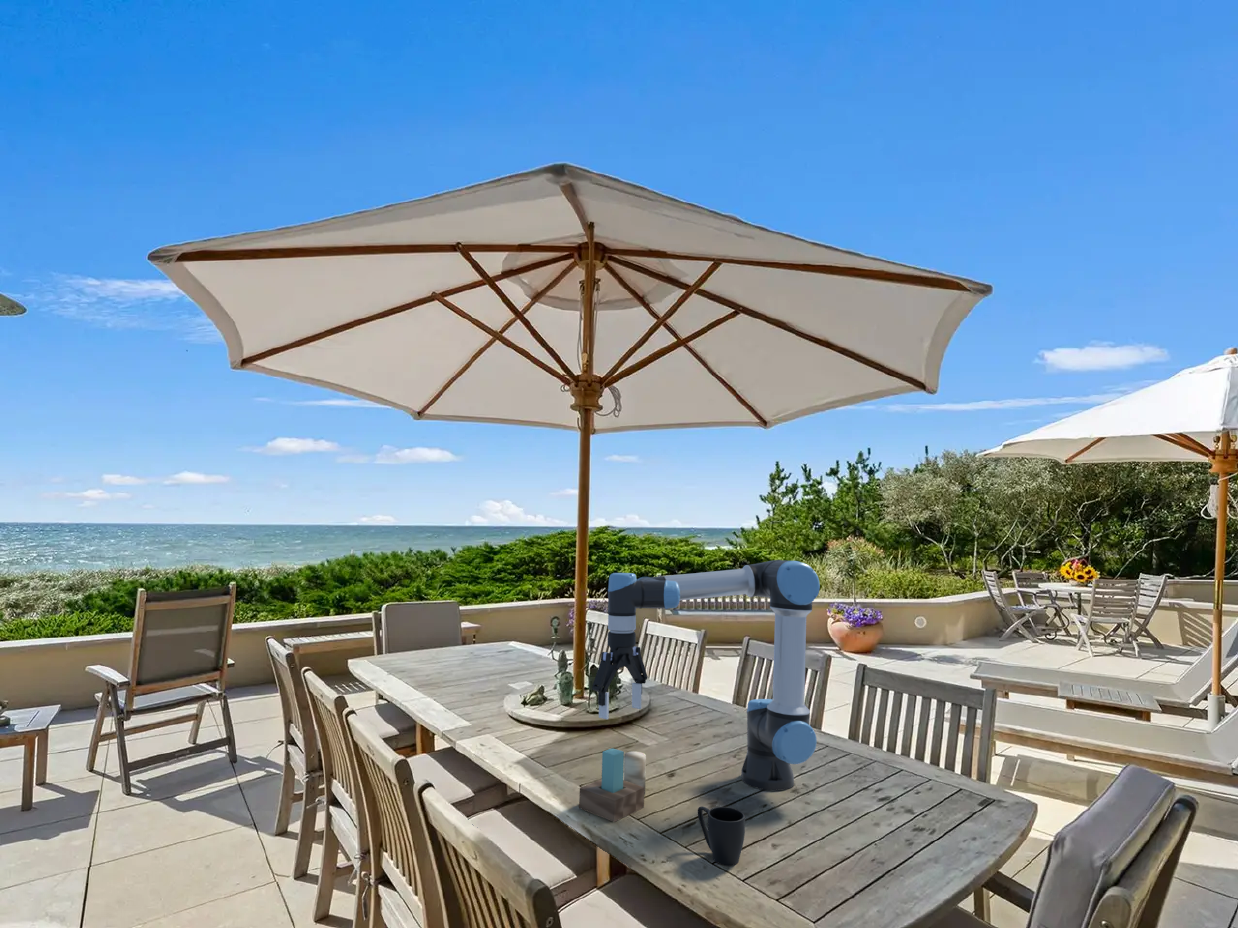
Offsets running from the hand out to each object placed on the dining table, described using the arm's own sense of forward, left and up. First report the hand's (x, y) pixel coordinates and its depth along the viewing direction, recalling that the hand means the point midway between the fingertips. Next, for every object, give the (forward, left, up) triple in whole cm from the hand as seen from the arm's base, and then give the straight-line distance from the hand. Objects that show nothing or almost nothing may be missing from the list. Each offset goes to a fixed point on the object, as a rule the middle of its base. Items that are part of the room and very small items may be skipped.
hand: (620, 712), depth 169 cm
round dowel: (-11, -3, -24) cm, 26 cm away
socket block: (+1, -1, -24) cm, 24 cm away
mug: (+4, +33, -24) cm, 41 cm away
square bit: (+1, -1, -24) cm, 24 cm away
